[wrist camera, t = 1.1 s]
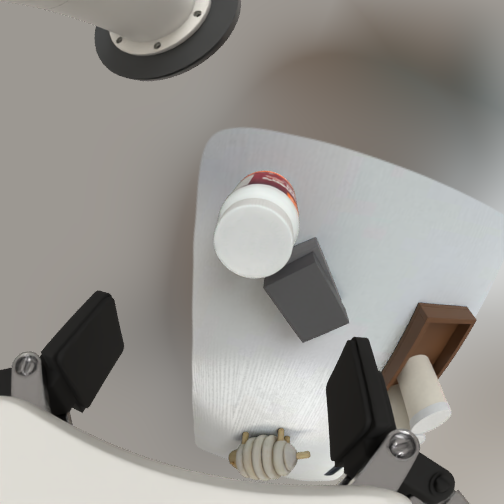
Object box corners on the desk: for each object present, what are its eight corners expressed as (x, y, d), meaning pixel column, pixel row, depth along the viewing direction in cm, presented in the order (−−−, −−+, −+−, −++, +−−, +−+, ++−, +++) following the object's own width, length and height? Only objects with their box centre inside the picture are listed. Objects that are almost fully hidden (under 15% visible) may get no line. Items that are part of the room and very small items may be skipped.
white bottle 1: (400, 357, 34) (420, 416, 24) (434, 351, 33) (458, 405, 23) (391, 382, 37) (405, 437, 27) (423, 376, 36) (441, 427, 26)
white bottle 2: (381, 386, 37) (394, 441, 27) (414, 380, 36) (431, 432, 26) (374, 405, 40) (383, 457, 30) (405, 400, 39) (417, 448, 29)
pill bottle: (308, 196, 27) (323, 240, 17) (269, 239, 29) (260, 301, 19) (260, 156, 26) (245, 175, 16) (222, 203, 28) (188, 248, 18)
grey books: (263, 258, 30) (259, 281, 26) (317, 236, 29) (323, 256, 24) (294, 318, 33) (295, 345, 29) (343, 301, 32) (350, 326, 27)
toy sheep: (221, 428, 48) (212, 472, 38) (300, 416, 43) (299, 468, 33) (245, 447, 52) (238, 487, 42) (315, 437, 47) (316, 481, 37)
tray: (418, 302, 31) (427, 317, 28) (466, 306, 30) (476, 319, 27) (351, 416, 43) (352, 430, 40) (393, 414, 42) (396, 427, 39)
